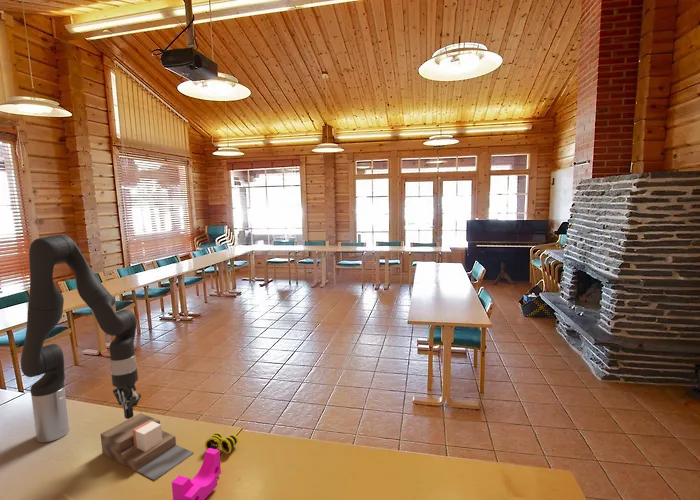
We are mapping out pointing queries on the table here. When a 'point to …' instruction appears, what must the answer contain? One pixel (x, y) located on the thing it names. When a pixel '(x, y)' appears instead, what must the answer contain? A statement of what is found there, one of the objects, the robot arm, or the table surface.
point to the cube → (147, 435)
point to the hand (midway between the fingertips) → (129, 417)
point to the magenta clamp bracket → (199, 479)
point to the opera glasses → (221, 442)
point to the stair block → (146, 463)
